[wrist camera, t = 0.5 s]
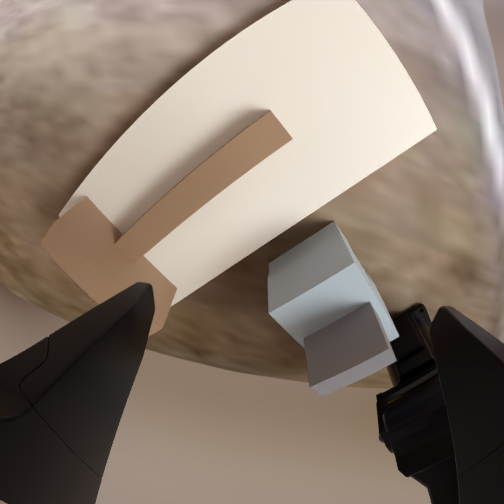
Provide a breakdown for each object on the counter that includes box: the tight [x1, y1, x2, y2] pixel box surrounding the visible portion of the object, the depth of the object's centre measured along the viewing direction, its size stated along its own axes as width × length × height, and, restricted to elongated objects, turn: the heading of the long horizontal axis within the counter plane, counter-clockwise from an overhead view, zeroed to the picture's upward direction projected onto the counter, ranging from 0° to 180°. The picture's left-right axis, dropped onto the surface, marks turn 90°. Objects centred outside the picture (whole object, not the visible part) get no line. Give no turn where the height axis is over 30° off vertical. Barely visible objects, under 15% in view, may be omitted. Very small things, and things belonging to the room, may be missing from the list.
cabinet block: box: [268, 221, 399, 396], centre depth 19 cm, size 8×6×10 cm
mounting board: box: [39, 0, 437, 337], centre depth 16 cm, size 12×26×6 cm, turn 128°
